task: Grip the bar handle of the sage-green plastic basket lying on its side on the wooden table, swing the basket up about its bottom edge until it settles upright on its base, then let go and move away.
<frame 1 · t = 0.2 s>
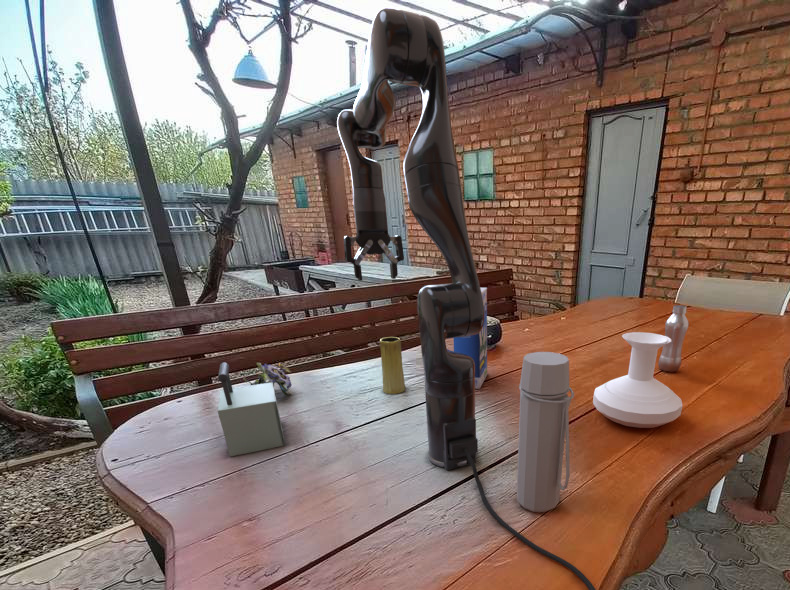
hand: (377, 279, 108), 29 cm above the table, tool pointing down, fingers open, 8 cm apart
passion flower: (272, 397, 112), on the table
plastic bottle: (668, 371, 133), on the table
string lights box: (471, 381, 124), on the table
candle holder: (633, 417, 102), on the table
basket: (249, 403, 87), point 8 cm above the table, hinge at 90.0°
vase: (394, 390, 117), on the table
water bottle: (541, 504, 70), on the table
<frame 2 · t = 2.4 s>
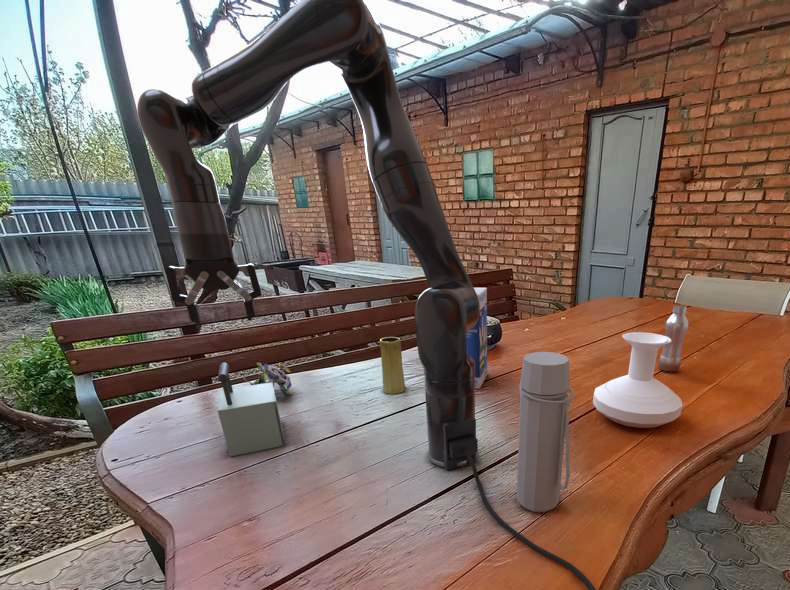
hand: (225, 321, 81), 25 cm above the table, tool pointing down, fingers open, 8 cm apart
nothing on the table moved.
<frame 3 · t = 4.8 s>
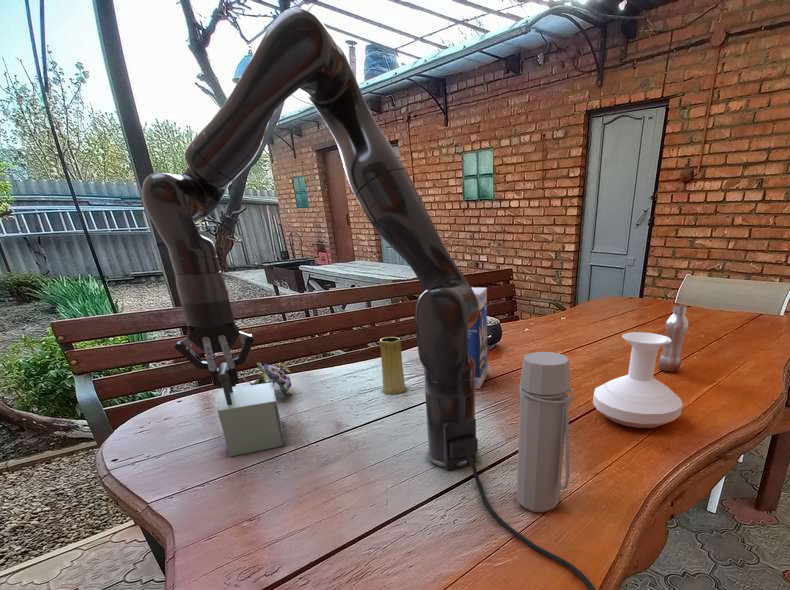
hand: (227, 386, 84), 13 cm above the table, tool pointing down, fingers closed on basket
basket: (249, 403, 87), point 8 cm above the table, hinge at 90.0°, touching gripper
everything else where it was.
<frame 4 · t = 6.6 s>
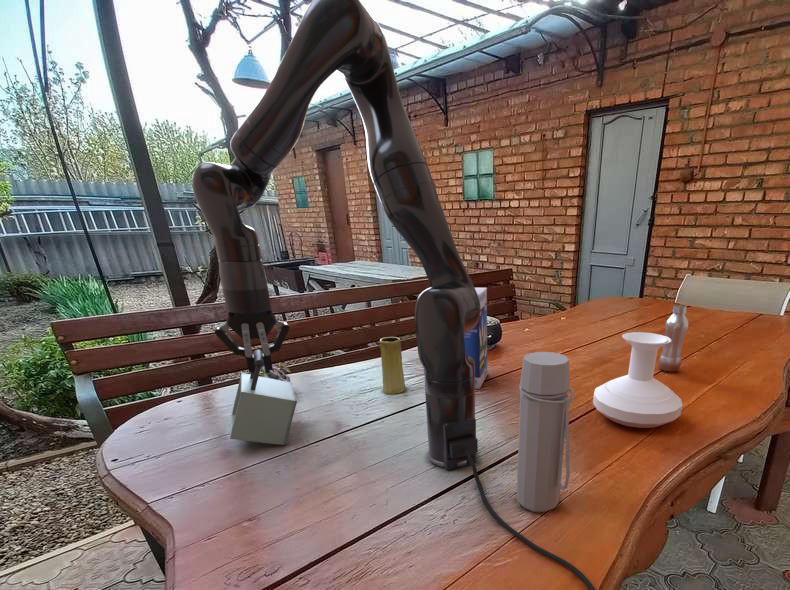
hand: (261, 372, 86), 14 cm above the table, tool pointing down, fingers closed on basket
basket: (266, 394, 88), point 9 cm above the table, hinge at 67.7°, touching gripper
everything else where it was.
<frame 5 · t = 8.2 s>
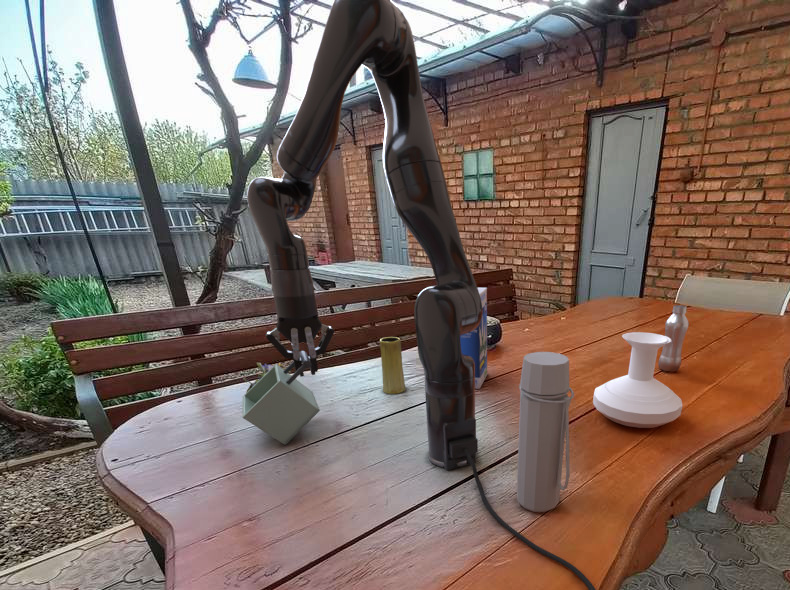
hand: (307, 374, 91), 13 cm above the table, tool pointing down, fingers closed on basket
basket: (291, 392, 90), point 9 cm above the table, hinge at 39.2°, touching gripper
everything else where it was.
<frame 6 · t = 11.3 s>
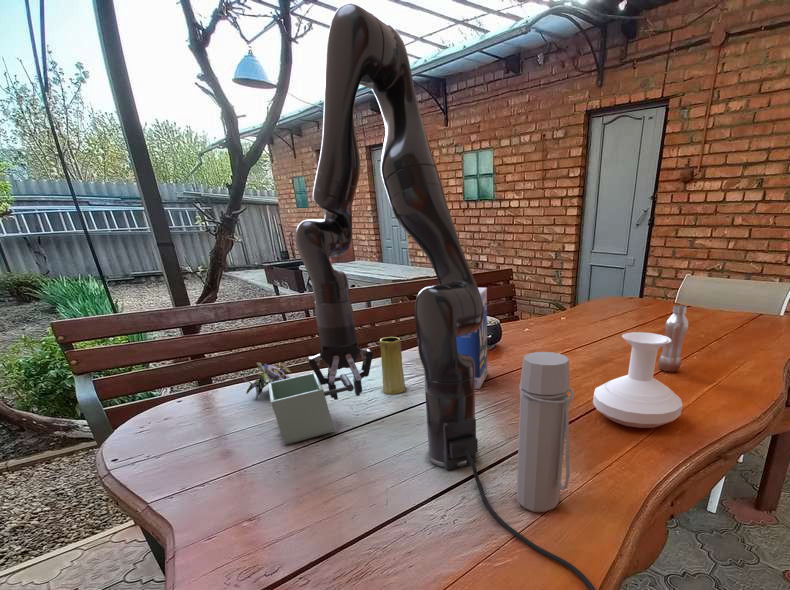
hand: (346, 396, 96), 6 cm above the table, tool pointing down, fingers open, 4 cm apart
basket: (316, 403, 94), point 6 cm above the table, hinge at 5.4°, touching gripper, hand
everything else where it was.
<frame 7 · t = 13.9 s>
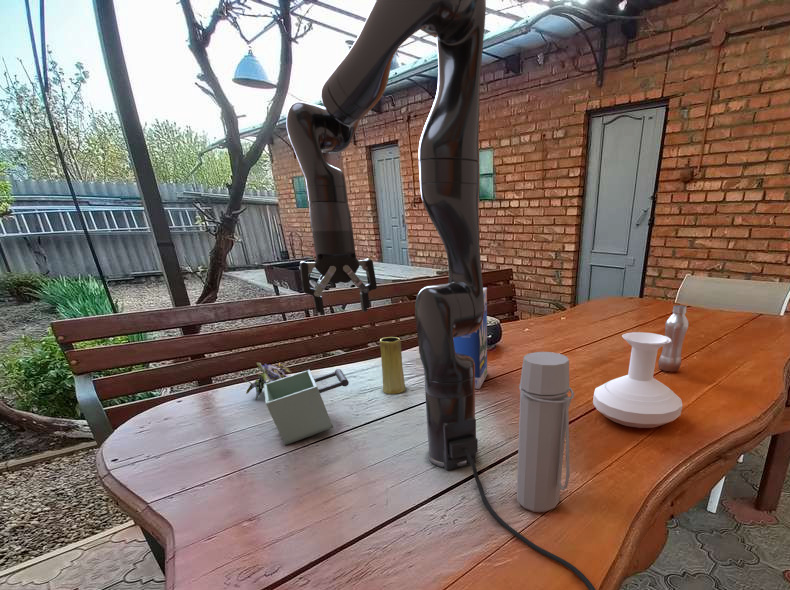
hand: (343, 312, 88), 25 cm above the table, tool pointing down, fingers open, 8 cm apart
basket: (312, 400, 93), point 6 cm above the table, hinge at 10.8°
everything else where it was.
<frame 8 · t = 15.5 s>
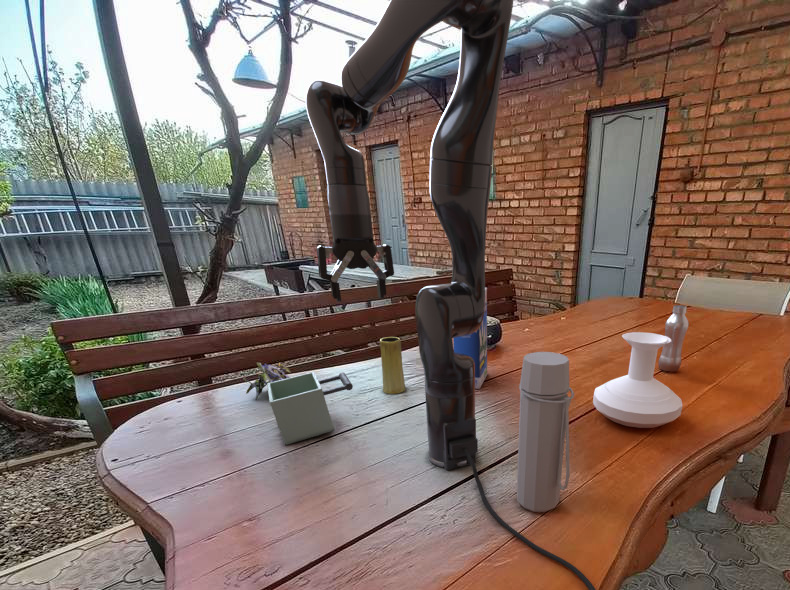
hand: (360, 299, 87), 28 cm above the table, tool pointing down, fingers open, 8 cm apart
basket: (315, 402, 94), point 6 cm above the table, hinge at 6.6°
everything else where it was.
at the end: basket at +6° (first picture: +90°); the gripper is holding nothing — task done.
